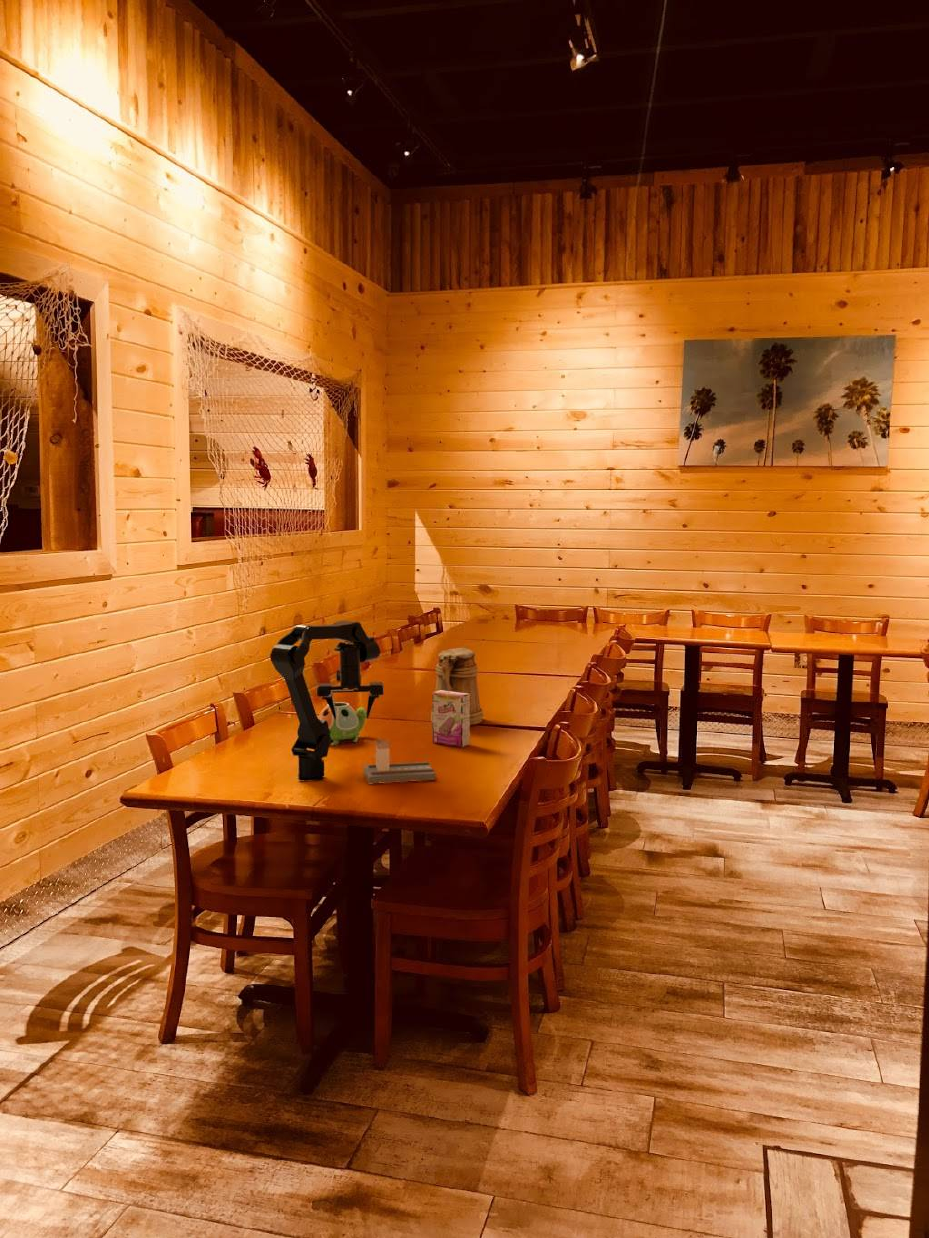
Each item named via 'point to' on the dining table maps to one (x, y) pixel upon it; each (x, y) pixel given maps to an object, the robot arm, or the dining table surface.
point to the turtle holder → (344, 721)
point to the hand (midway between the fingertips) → (351, 718)
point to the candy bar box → (451, 718)
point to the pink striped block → (382, 755)
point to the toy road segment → (400, 772)
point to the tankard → (460, 678)
